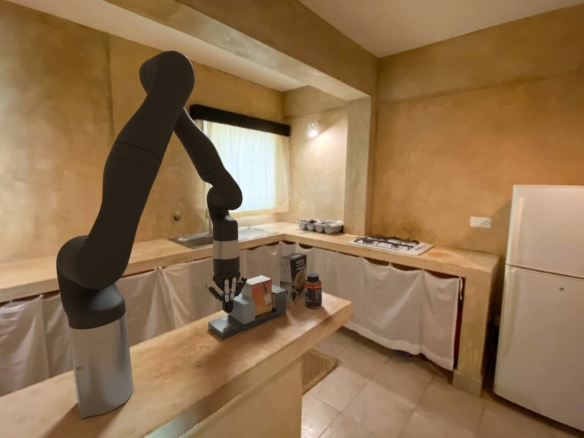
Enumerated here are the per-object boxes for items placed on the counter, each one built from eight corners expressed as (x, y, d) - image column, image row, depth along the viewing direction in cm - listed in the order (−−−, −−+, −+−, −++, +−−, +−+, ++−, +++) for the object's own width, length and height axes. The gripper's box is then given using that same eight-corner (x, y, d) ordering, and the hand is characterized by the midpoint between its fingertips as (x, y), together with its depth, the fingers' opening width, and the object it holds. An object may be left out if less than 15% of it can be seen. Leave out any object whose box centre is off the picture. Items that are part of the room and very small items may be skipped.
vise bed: (223, 340, 77) (222, 312, 76) (208, 328, 84) (206, 302, 83) (286, 313, 92) (285, 289, 91) (269, 304, 99) (268, 283, 98)
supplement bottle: (324, 304, 99) (324, 273, 97) (317, 311, 94) (317, 278, 92) (309, 301, 102) (309, 270, 100) (301, 307, 97) (301, 275, 95)
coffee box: (293, 304, 99) (292, 259, 97) (279, 299, 103) (278, 257, 101) (307, 295, 107) (307, 254, 105) (294, 291, 111) (293, 251, 108)
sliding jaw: (243, 324, 81) (243, 304, 81) (228, 314, 88) (227, 295, 87) (255, 319, 84) (254, 300, 83) (239, 310, 91) (238, 292, 90)
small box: (252, 318, 85) (251, 285, 84) (242, 312, 89) (241, 280, 88) (273, 310, 90) (272, 278, 89) (262, 304, 95) (261, 274, 93)
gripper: (239, 249, 88) (240, 302, 90) (198, 256, 79) (201, 314, 81) (252, 253, 82) (253, 309, 84) (211, 261, 73) (213, 324, 75)
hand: (228, 312), depth 83 cm, fingers closed
